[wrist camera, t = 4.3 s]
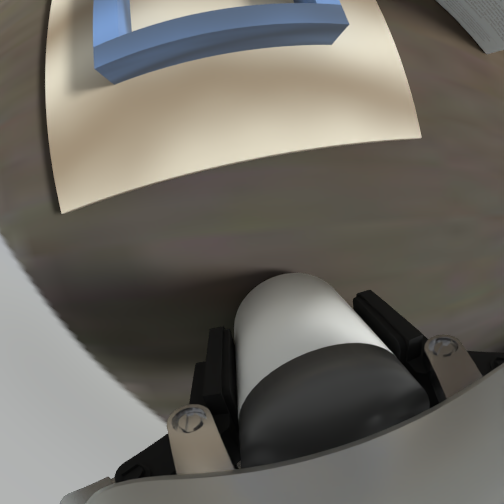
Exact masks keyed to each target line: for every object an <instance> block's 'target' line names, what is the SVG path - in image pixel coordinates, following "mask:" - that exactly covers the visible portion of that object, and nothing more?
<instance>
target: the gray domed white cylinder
mask: <svg viewBox="0 0 504 504" xmlns="http://www.w3.org/2000/svg"><path fill="white" fill-rule="evenodd" d="M234 339H235V364H236V386H237V406H238V425H239V442H240V458H241V469H242V468H249V467H255V466H261V465H267V464H272V463H277V462H282V461H287V460H291V459H295V458H300V457H304V456H308V455H311V454H315V453H319V452H322V451H326V450H329V449H332V448H336V447H339V446H342V445H345V444H348V443H351V442H354V441H357V440H359V439H362V438H365V437H367V436H370V435H373V434H375V433H378V432H380V431H383V430H385V429H387V428H390V427H392V426H394V425H397V424H399V423H401V422H403V421H405V420H408V419H410V418H412V417H414V416H416V415H418V414H420V413H422V412H424V411H426V410H428V409H429V408H430V402H429V397H428V395H427V393H426V391H425V390H424V389H423V388H422V386H421V385H420V384H419V383H418V382H417V381H416V379H415V378H414V377H413V376H412V375H411V374H410V372H409V371H408V370H407V369H406V368H405V367H404V365H403V364H402V363H401V362H400V361H399V360H398V359H397V357H396V356H395V355H394V354H393V353H392V352H391V351H390V350H389V348H388V347H387V346H386V345H385V344H384V343H383V342H382V341H381V339H380V338H379V337H378V336H377V335H376V334H375V333H374V332H373V331H372V329H371V328H370V327H369V326H368V325H367V324H366V323H365V322H364V321H363V319H362V318H361V317H360V316H359V315H358V314H357V313H356V312H355V311H354V310H353V309H352V308H351V306H350V305H349V304H348V303H347V302H346V301H345V300H344V299H343V298H342V297H341V296H340V295H339V294H338V292H337V291H336V290H335V289H334V288H333V287H332V286H331V285H330V284H328V283H327V282H326V281H324V280H323V279H321V278H319V277H316V276H313V275H310V274H305V273H287V274H281V275H278V276H275V277H272V278H270V279H268V280H266V281H264V282H262V283H260V284H259V285H258V286H256V287H255V288H254V289H253V290H252V291H251V292H250V293H248V295H247V296H246V297H245V298H244V300H243V301H242V303H241V304H240V306H239V308H238V311H237V313H236V317H235V322H234Z"/></svg>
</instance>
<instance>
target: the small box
mask: <svg viewBox="0 0 504 504" xmlns="http://www.w3.org/2000/svg"><path fill="white" fill-rule="evenodd" d="M436 1H437V2H438V3H439V4H440V5H441V6H442V7H443V8H444V9H445V10H447V11H448V12H449V13H450V14H451V15H452V16H453V17H454V18H455V19H456V20H457V21H458V22H459V23H460V25H461V26H462V27H463V28H464V29H465V30H466V31H467V32H468V33H469V34H470V36H471V37H472V38H473V39H474V40H475V41H476V43H477V44H478V45H479V46H480V47H481V49H482V50H483V51H484V52H485V53H486V54H490V53H493V52H497V51H500V50H504V0H436Z"/></svg>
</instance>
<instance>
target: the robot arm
mask: <svg viewBox="0 0 504 504" xmlns="http://www.w3.org/2000/svg"><path fill="white" fill-rule="evenodd" d="M353 308H354V311H355V312H356V313H357V314H358V315H359V316H360V317H361V318H362V319H363V321H364V322H365V323H366V324H367V325H368V326H369V327H370V328H371V329H372V331H373V332H374V333H375V334H376V335H377V336H378V337H379V338H380V339H381V341H382V342H383V343H384V344H385V345H386V346H387V347H388V348H389V350H390V351H391V352H392V353H393V354H394V355H395V356H396V357H397V359H398V360H399V361H400V362H401V363H402V364H403V365H404V367H405V368H406V369H407V370H408V371H409V372H410V374H411V375H412V376H413V377H414V378H415V379H416V381H417V382H418V383H419V384H420V385H421V386H422V388H423V389H424V390H425V391H426V393H427V395H428V397H429V402H430V408H429V409H428V410H426V411H424V412H422V413H420V414H418V415H416V416H414V417H412V418H410V419H408V420H405V421H403V422H401V423H399V424H397V425H394V426H392V427H390V428H387V429H385V430H383V431H380V432H378V433H375V434H373V435H370V436H367V437H365V438H362V439H359V440H357V441H354V442H351V443H348V444H345V445H342V446H339V447H336V448H332V449H329V450H326V451H322V452H319V453H315V454H311V455H308V456H304V457H300V458H295V459H291V460H287V461H282V462H277V463H272V464H267V465H261V466H255V467H249V468H242V469H239V468H238V466H237V463H238V462H239V461H240V460H241V458H240V442H239V425H238V406H237V386H236V364H235V345H234V341H233V338H232V335H231V331H230V329H225V328H224V326H222V327H217V328H212V329H210V331H209V339H208V348H207V356H206V362H200V363H196V365H195V371H194V377H193V383H192V390H191V396H190V403H189V405H185V406H183V407H180V408H178V409H177V410H175V411H174V412H173V413H172V414H171V415H170V416H169V418H168V420H167V429H168V434H166V435H165V436H164V437H162V438H161V439H160V440H158V441H157V442H155V443H154V444H152V445H151V446H149V447H148V448H146V449H145V450H143V451H142V452H140V453H139V454H137V455H136V456H134V457H132V458H131V459H129V460H128V461H126V462H125V463H123V464H122V465H121V466H120V467H119V468H118V470H117V471H116V474H115V477H114V478H112V479H110V478H109V477H106V478H104V479H102V480H100V481H98V482H96V483H93V484H91V485H89V486H86V487H84V488H82V489H79V490H77V491H74V492H72V493H69V494H67V495H66V496H64V497H63V499H62V500H61V502H60V504H504V353H493V352H474V351H466V349H465V348H464V346H463V345H462V343H461V342H460V341H459V340H458V339H457V338H455V337H454V336H450V335H436V336H434V337H431V338H430V339H427V338H426V337H425V336H424V335H423V334H422V333H421V332H420V331H419V330H417V329H416V328H415V327H414V326H413V325H412V324H410V323H409V322H408V321H407V320H406V319H405V318H403V317H402V316H401V315H400V314H399V313H398V312H396V311H395V310H394V309H393V308H392V307H390V306H389V305H388V304H387V303H386V302H385V301H383V300H382V299H381V298H380V297H379V296H377V295H376V294H375V293H374V292H372V291H371V290H367V291H364V292H360V293H357V296H356V297H355V298H354V299H353Z"/></svg>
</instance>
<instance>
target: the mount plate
mask: <svg viewBox="0 0 504 504" xmlns="http://www.w3.org/2000/svg"><path fill="white" fill-rule="evenodd" d="M45 94H46V115H47V128H48V138H49V147H50V154H51V161H52V168H53V174H54V180H55V185H56V190H57V195H58V200H59V204H60V209H61V213H62V214H64V213H68V212H72V211H75V210H77V209H80V208H83V207H86V206H88V205H91V204H94V203H97V202H100V201H103V200H106V199H109V198H112V197H115V196H118V195H121V194H124V193H127V192H130V191H133V190H137V189H140V188H143V187H147V186H150V185H153V184H157V183H160V182H164V181H168V180H171V179H175V178H179V177H182V176H186V175H190V174H194V173H198V172H202V171H206V170H211V169H215V168H219V167H224V166H228V165H233V164H237V163H242V162H247V161H252V160H257V159H262V158H267V157H272V156H278V155H284V154H290V153H296V152H302V151H308V150H315V149H322V148H329V147H337V146H345V145H354V144H363V143H374V142H385V141H398V140H411V139H418V138H421V133H420V128H419V123H418V119H417V115H416V110H415V106H414V102H413V99H412V95H411V91H410V88H409V85H408V81H407V78H406V75H405V72H404V68H403V65H402V63H401V60H400V57H399V54H398V51H397V49H396V46H395V43H394V41H393V38H392V36H391V33H390V31H389V28H388V26H387V24H386V21H385V19H384V17H383V15H382V12H381V10H380V8H379V6H378V4H377V2H376V0H52V3H51V9H50V16H49V24H48V34H47V45H46V66H45Z"/></svg>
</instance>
